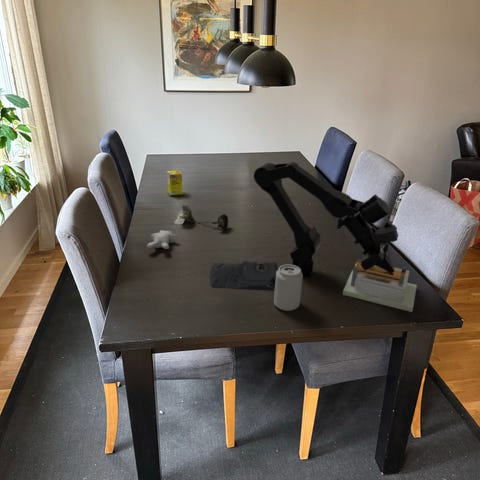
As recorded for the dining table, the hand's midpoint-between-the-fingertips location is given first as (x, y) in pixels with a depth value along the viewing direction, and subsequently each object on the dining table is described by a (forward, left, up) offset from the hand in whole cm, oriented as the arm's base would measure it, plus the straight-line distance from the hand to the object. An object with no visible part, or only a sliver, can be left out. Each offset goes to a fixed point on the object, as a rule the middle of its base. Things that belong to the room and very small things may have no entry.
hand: (393, 271), depth 129 cm
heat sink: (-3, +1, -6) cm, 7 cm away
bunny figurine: (-76, +23, -8) cm, 80 cm away
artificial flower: (-66, +43, -8) cm, 79 cm away
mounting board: (-2, +1, -8) cm, 8 cm away
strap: (-4, +1, -1) cm, 4 cm away
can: (-31, -10, -8) cm, 34 cm away
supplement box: (-83, +78, -8) cm, 114 cm away
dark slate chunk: (-45, +4, -8) cm, 46 cm away
